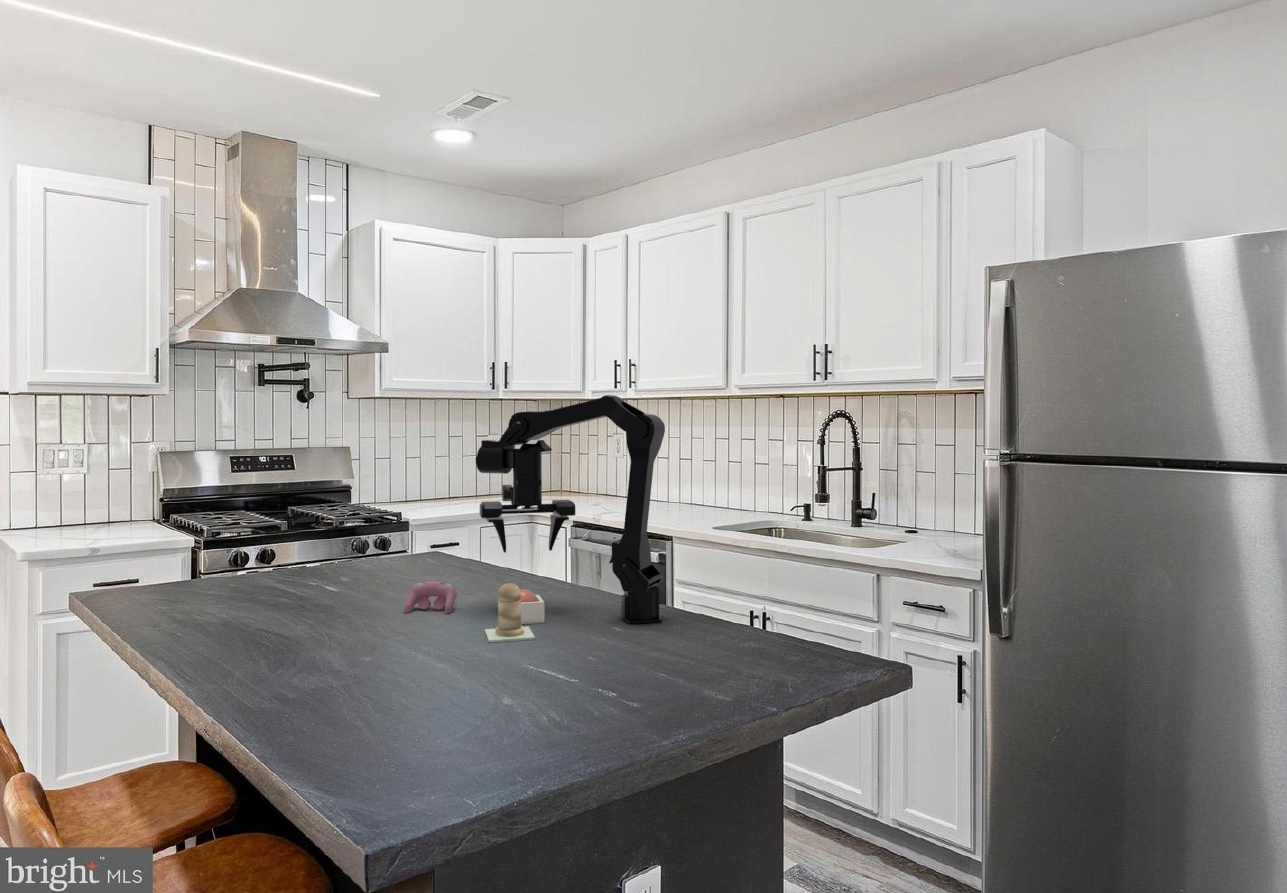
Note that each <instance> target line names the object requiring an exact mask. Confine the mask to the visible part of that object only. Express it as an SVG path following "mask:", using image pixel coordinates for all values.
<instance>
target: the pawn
mask: <svg viewBox="0 0 1287 893" xmlns="http://www.w3.org/2000/svg"><path fill="white" fill-rule="evenodd" d="M520 590H521V589H520V587H519V586H518V585H517V584H515V583H512V582H507V583H505V584H502V586H500V587H499V590H498V592H497V596H498V600H497V625H498V626H496V627H495V628H494V629H495V634H496V635H498V636H502V637H513V636H519V635H522V634H523V633H524V627H525V626H523V624H521V599H520V596H521V592H520Z"/></svg>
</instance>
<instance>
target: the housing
mask: <svg viewBox="0 0 1287 893" xmlns="http://www.w3.org/2000/svg"><path fill="white" fill-rule="evenodd" d="M534 596H535V598H536V602H523V603H521V625H532V624H534V625H535V624H545V601H544V600H543V598H542V597H541V595H539V594H534Z"/></svg>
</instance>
